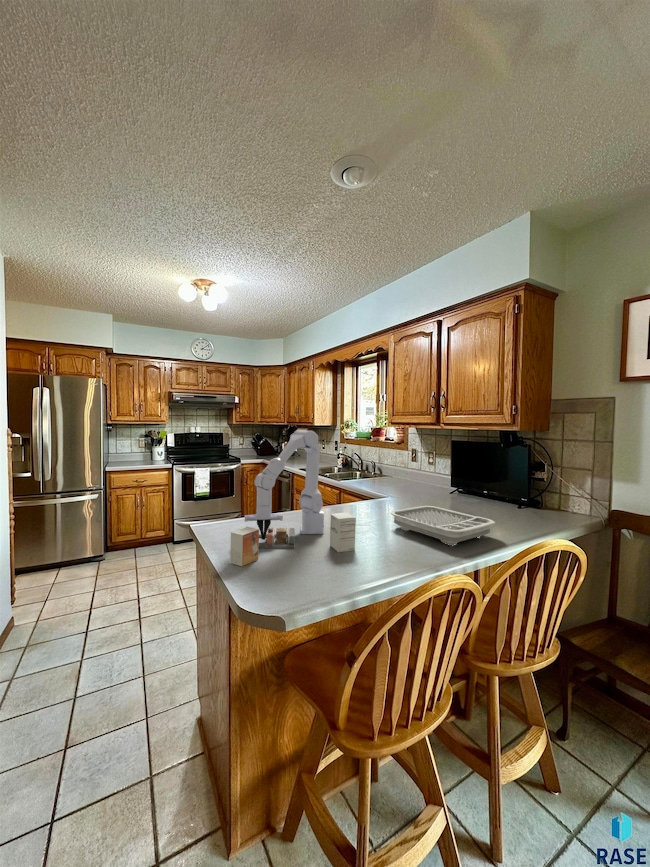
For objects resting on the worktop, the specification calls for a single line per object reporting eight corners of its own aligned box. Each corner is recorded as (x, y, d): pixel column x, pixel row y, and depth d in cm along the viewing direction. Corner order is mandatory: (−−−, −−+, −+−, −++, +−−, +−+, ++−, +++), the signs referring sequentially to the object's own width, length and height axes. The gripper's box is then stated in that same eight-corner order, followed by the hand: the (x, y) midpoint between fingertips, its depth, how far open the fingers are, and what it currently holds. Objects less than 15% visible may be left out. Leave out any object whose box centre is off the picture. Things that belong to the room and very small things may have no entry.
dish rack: (428, 518, 178) (429, 502, 178) (500, 539, 149) (500, 520, 148) (384, 528, 160) (384, 510, 160) (455, 554, 130) (456, 533, 130)
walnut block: (286, 540, 140) (286, 528, 140) (286, 544, 136) (286, 531, 136) (276, 540, 139) (276, 528, 139) (275, 544, 135) (276, 531, 135)
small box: (241, 567, 114) (242, 535, 113) (229, 563, 117) (230, 532, 116) (258, 559, 121) (259, 529, 120) (247, 555, 124) (247, 526, 123)
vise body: (294, 536, 145) (294, 526, 145) (294, 548, 132) (294, 537, 132) (252, 536, 143) (252, 527, 143) (248, 548, 130) (248, 537, 130)
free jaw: (274, 537, 142) (274, 525, 142) (273, 546, 132) (273, 533, 132) (268, 537, 142) (268, 525, 142) (266, 546, 132) (267, 533, 132)
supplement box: (329, 546, 135) (330, 513, 134) (346, 543, 138) (347, 511, 137) (337, 552, 128) (338, 518, 128) (355, 550, 131) (356, 516, 131)
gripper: (282, 501, 142) (281, 534, 142) (245, 502, 139) (244, 536, 140) (283, 505, 135) (282, 540, 135) (244, 506, 132) (244, 542, 133)
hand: (263, 538), depth 137 cm, fingers closed
